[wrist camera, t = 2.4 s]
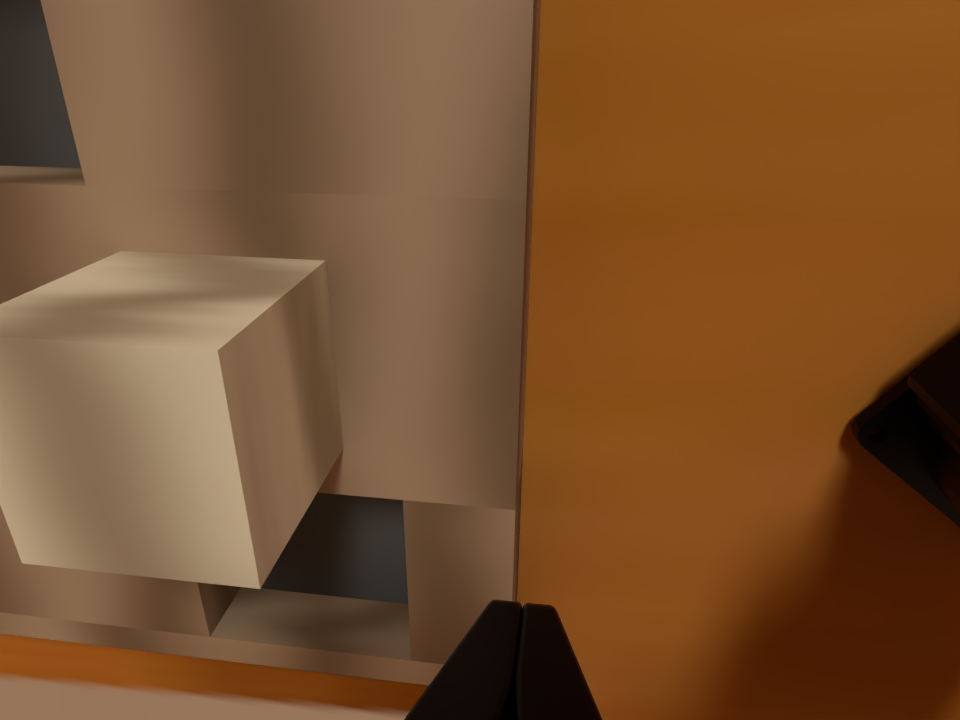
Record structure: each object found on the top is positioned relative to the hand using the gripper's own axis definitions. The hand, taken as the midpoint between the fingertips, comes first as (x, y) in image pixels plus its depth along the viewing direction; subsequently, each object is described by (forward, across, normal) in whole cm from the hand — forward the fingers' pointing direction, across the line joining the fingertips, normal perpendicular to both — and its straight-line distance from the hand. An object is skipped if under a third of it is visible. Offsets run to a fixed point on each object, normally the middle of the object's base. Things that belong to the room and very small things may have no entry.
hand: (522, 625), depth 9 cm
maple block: (+8, +8, 0) cm, 11 cm away
